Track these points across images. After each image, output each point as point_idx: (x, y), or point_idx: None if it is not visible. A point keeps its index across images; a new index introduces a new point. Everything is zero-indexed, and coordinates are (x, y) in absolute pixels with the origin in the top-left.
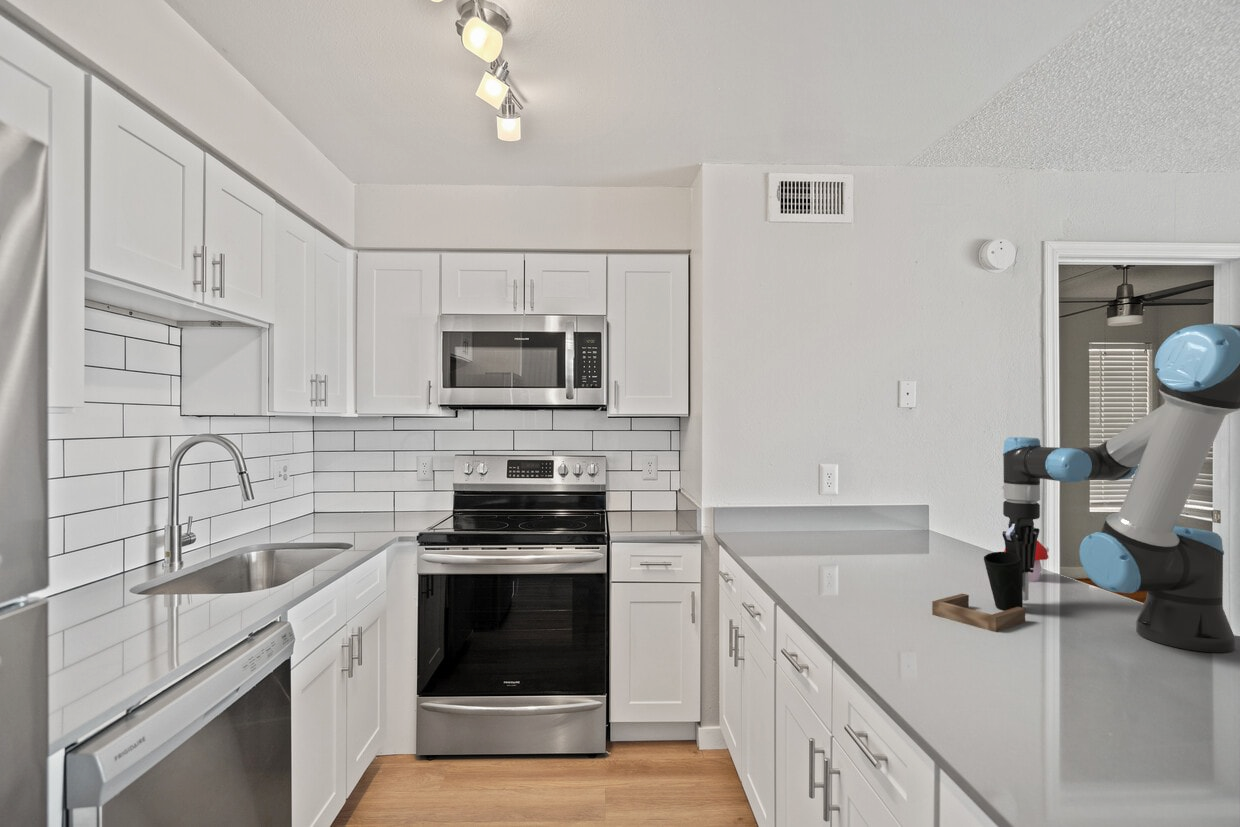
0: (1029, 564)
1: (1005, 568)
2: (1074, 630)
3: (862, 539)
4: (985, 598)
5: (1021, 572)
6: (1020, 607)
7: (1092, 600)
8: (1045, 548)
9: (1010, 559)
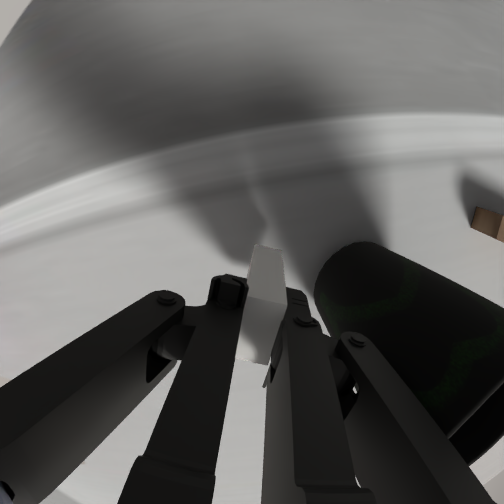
0: (214, 321)
1: None
2: (464, 76)
3: None
4: (259, 365)
5: (473, 302)
6: (501, 230)
7: (24, 107)
8: None
9: None
